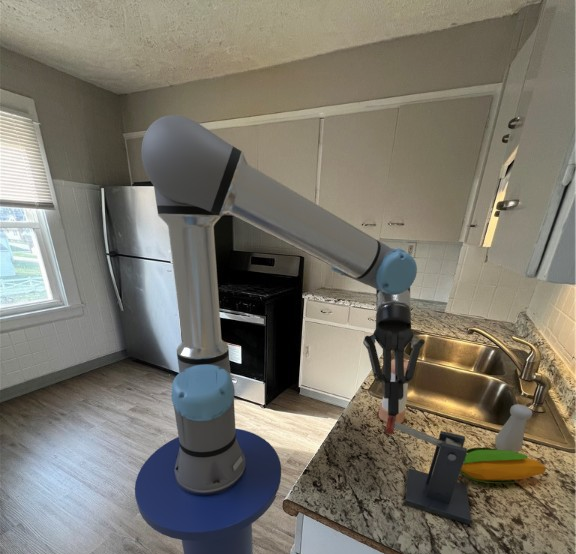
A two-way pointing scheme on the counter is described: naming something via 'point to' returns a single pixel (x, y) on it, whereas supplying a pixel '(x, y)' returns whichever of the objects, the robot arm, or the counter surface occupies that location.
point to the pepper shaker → (402, 403)
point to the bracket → (441, 483)
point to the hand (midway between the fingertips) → (393, 414)
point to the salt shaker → (513, 429)
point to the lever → (415, 433)
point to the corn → (499, 465)
